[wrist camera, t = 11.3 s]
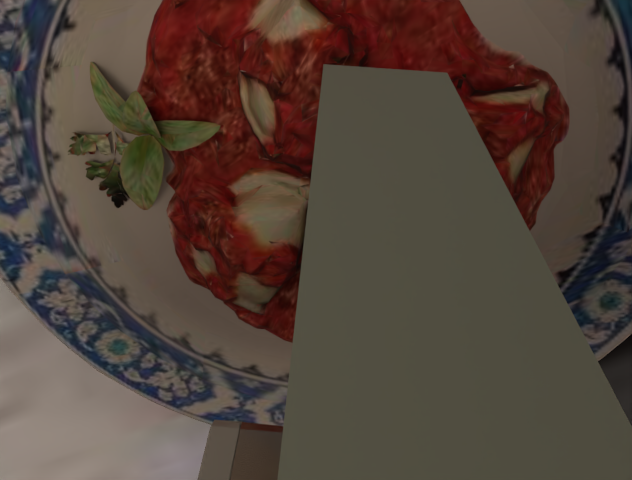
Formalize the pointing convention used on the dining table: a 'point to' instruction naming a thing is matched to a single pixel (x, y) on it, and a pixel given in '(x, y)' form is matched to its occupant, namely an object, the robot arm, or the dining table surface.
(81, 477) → the dining table surface
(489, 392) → the grey-green rectangular block
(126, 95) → the ceramic plate
